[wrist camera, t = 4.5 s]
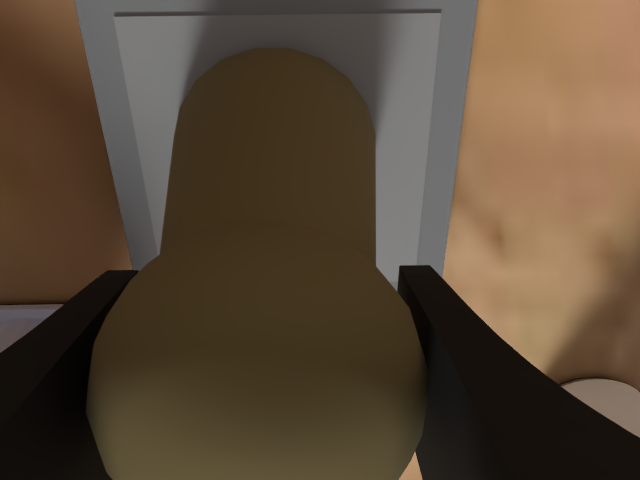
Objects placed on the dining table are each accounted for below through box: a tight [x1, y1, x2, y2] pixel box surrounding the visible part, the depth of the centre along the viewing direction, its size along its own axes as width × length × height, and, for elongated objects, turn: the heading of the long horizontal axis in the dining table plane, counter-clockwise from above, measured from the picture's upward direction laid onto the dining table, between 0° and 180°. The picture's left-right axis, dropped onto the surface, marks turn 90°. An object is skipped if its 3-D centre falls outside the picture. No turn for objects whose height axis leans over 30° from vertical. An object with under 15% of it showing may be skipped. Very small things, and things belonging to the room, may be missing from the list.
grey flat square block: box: [74, 0, 478, 291], centre depth 18 cm, size 11×11×3 cm
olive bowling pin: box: [86, 48, 429, 480], centre depth 12 cm, size 6×6×11 cm
